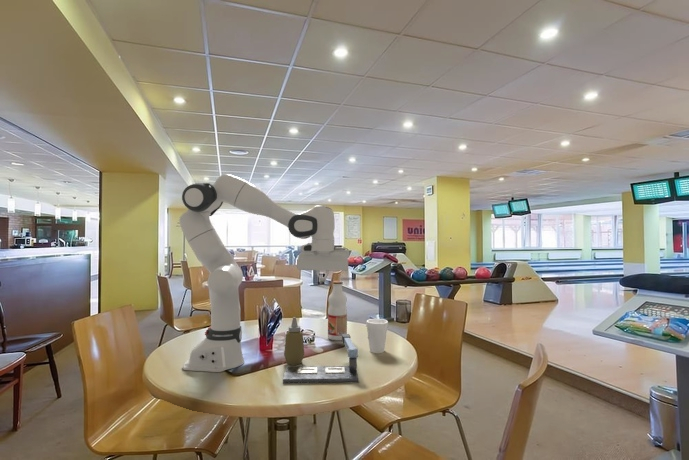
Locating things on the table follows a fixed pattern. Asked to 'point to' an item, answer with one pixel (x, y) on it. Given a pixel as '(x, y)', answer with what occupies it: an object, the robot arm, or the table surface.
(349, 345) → the swing arm
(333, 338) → the fruit juice
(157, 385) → the table surface
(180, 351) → the table surface
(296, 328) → the squeeze bottle
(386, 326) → the foam cup
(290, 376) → the switch panel
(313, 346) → the table surface
